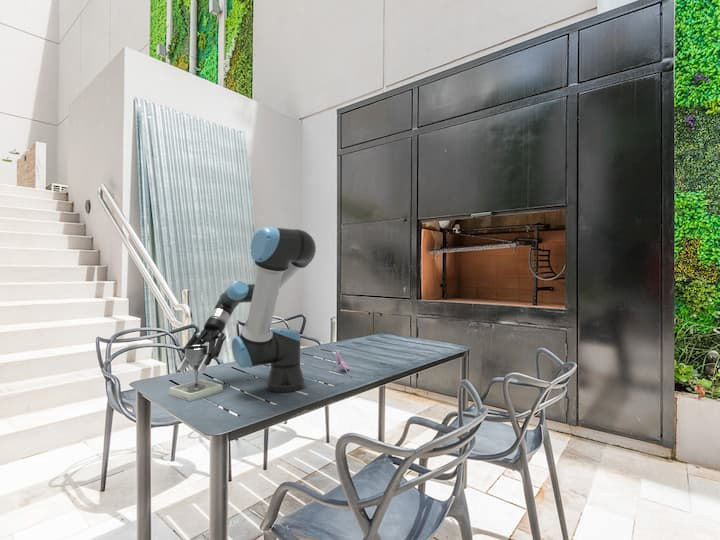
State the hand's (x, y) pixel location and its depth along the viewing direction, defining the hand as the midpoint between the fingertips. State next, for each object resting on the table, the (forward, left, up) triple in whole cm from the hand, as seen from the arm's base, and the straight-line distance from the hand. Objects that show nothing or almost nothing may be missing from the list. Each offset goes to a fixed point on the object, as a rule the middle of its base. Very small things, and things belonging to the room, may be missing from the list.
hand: (190, 371), depth 144 cm
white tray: (+1, -3, -9) cm, 10 cm away
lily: (-24, -60, -9) cm, 65 cm away
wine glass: (+1, -3, -7) cm, 8 cm away
